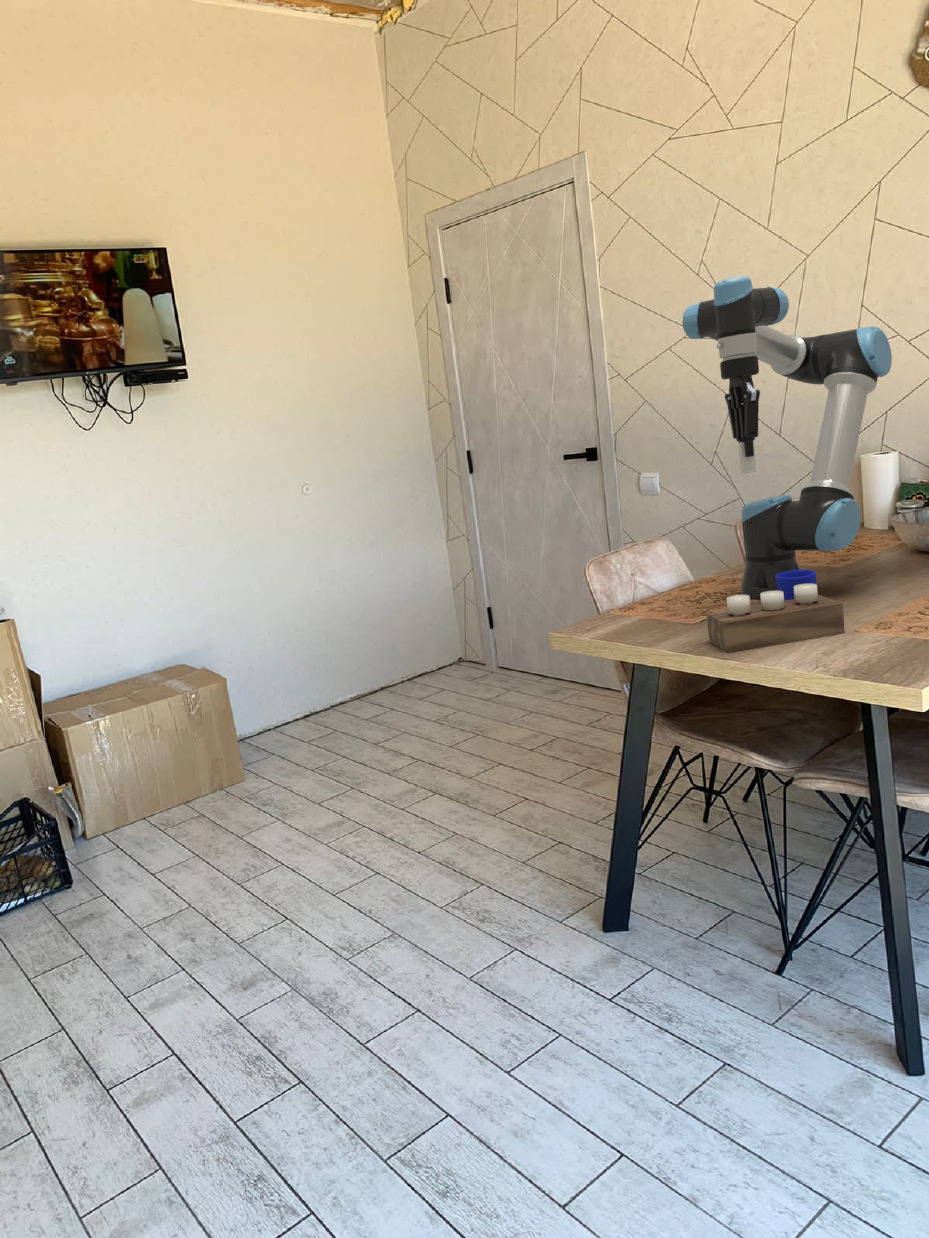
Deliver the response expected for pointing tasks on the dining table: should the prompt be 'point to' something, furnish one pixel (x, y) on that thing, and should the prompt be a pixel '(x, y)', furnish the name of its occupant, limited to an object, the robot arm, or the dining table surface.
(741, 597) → the knob
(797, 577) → the mug
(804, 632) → the mount
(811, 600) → the knob
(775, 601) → the knob
